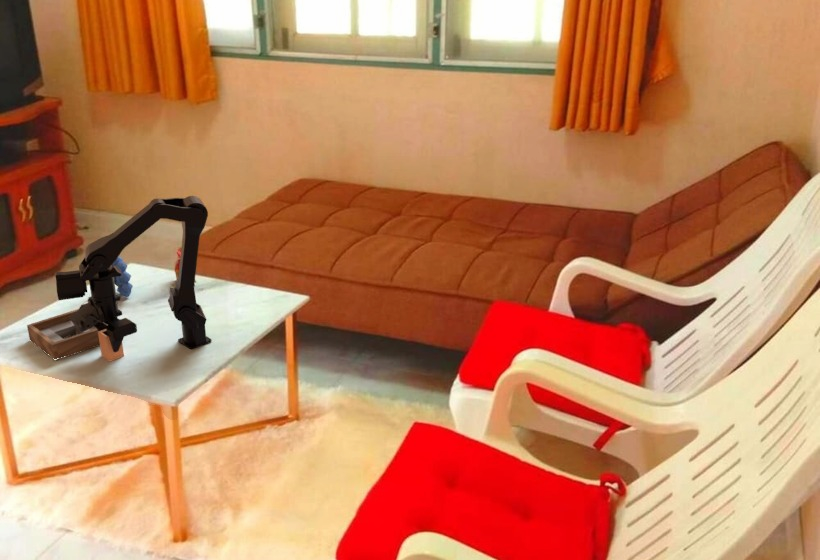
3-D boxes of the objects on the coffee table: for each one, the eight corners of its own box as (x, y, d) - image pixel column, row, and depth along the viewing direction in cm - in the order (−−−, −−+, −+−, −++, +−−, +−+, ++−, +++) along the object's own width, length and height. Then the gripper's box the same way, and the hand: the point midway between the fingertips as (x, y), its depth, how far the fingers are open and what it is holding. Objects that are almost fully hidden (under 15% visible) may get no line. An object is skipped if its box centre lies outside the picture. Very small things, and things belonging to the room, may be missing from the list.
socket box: (111, 340, 204) (109, 325, 202) (55, 360, 194) (52, 345, 192) (84, 322, 213) (82, 307, 211) (29, 340, 203) (26, 325, 201)
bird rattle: (170, 289, 239) (181, 287, 232) (160, 254, 238) (171, 251, 231) (189, 284, 243) (200, 282, 236) (180, 250, 242) (191, 247, 235)
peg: (124, 355, 197) (120, 331, 194) (109, 361, 194) (105, 336, 192) (116, 350, 200) (112, 326, 197) (101, 355, 197) (97, 331, 194)
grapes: (102, 291, 232) (96, 254, 227) (124, 285, 236) (119, 249, 231) (116, 305, 224) (110, 267, 219) (138, 299, 227) (134, 261, 223)
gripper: (54, 291, 190) (64, 346, 197) (89, 315, 179) (99, 373, 185) (97, 278, 198) (105, 332, 204) (134, 301, 186) (141, 357, 193)
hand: (111, 348), depth 196 cm, fingers closed on peg, 4 cm apart
